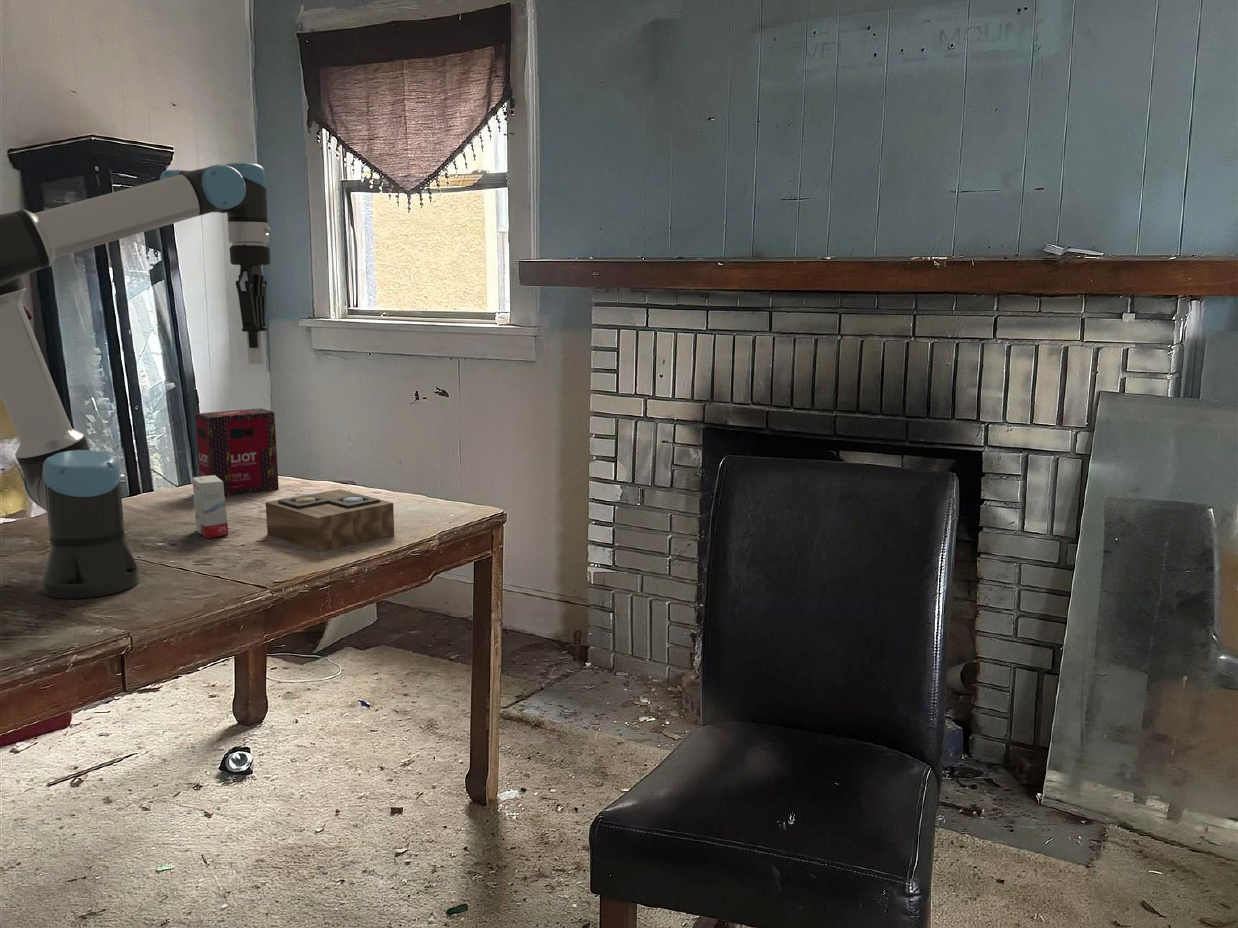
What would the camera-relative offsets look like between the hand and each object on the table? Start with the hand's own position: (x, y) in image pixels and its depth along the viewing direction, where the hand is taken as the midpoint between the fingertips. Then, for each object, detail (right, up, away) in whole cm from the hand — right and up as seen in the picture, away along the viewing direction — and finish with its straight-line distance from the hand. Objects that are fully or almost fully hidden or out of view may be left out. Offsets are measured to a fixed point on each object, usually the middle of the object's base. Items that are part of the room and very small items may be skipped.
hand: (256, 363), depth 206 cm
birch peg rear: (+7, -35, +9) cm, 37 cm away
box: (-23, -27, +52) cm, 63 cm away
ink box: (-13, -35, +10) cm, 39 cm away
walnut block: (+12, -35, +10) cm, 39 cm away
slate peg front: (+17, -35, +10) cm, 40 cm away
